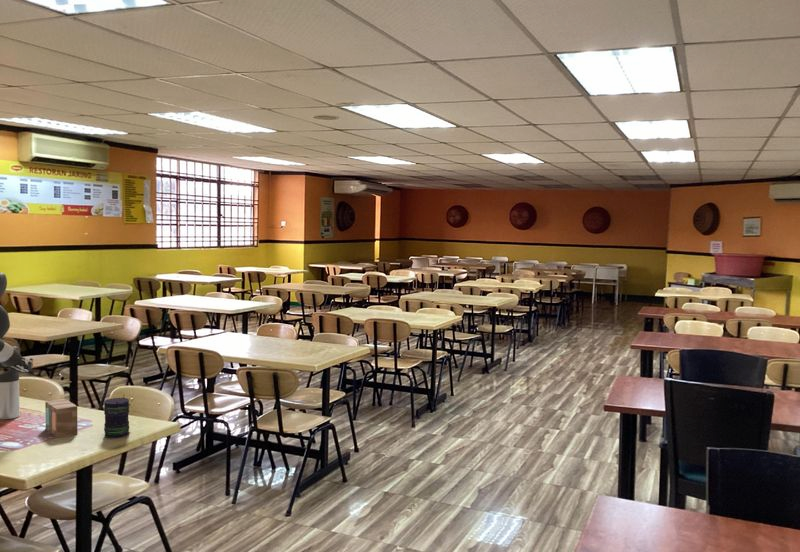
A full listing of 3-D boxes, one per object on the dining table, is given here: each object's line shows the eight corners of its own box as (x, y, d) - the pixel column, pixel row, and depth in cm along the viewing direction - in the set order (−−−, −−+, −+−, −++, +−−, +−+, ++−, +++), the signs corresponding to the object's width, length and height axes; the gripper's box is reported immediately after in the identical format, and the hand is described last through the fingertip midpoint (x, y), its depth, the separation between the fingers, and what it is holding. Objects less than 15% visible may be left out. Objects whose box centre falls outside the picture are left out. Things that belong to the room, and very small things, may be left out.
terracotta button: (51, 428, 274) (51, 411, 274) (67, 426, 279) (67, 409, 278) (55, 431, 271) (55, 414, 271) (70, 428, 275) (70, 411, 275)
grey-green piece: (45, 423, 281) (45, 407, 281) (60, 421, 286) (60, 404, 285) (48, 426, 278) (48, 409, 277) (64, 423, 282) (63, 407, 282)
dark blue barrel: (104, 433, 278) (104, 398, 277) (129, 430, 282) (128, 397, 281) (104, 439, 268) (103, 404, 268) (129, 437, 272) (129, 402, 272)
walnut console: (45, 428, 283) (45, 401, 282) (65, 425, 288) (65, 398, 288) (57, 437, 270) (56, 409, 270) (77, 433, 276) (77, 406, 275)
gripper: (21, 343, 265) (49, 363, 279) (-7, 348, 267) (22, 368, 281) (15, 359, 260) (43, 378, 274) (-13, 364, 262) (16, 383, 276)
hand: (32, 373), depth 277 cm, fingers closed
